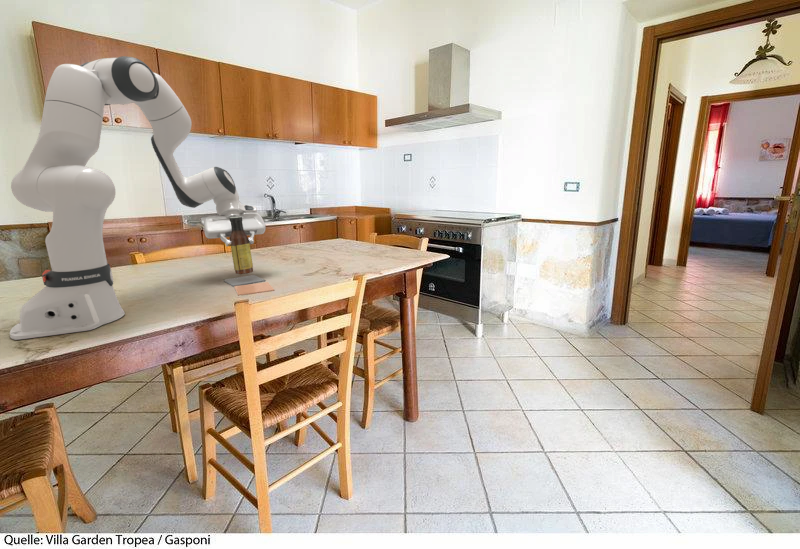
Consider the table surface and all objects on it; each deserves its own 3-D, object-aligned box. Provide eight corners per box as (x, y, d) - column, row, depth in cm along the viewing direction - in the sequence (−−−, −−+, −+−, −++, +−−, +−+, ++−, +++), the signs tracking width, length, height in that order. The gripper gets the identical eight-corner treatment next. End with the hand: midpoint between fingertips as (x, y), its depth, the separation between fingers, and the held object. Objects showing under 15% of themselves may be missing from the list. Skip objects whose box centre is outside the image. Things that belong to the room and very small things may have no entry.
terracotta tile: (238, 297, 122) (238, 294, 122) (234, 289, 131) (234, 286, 131) (274, 292, 127) (274, 289, 127) (268, 284, 136) (267, 282, 136)
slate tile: (233, 288, 132) (233, 285, 132) (223, 282, 140) (223, 279, 140) (265, 282, 139) (265, 280, 139) (254, 277, 147) (253, 274, 147)
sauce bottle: (256, 270, 142) (250, 215, 137) (248, 275, 136) (241, 217, 131) (239, 270, 142) (232, 216, 137) (230, 274, 136) (223, 217, 131)
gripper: (199, 209, 133) (208, 241, 128) (260, 206, 144) (270, 235, 139) (199, 221, 138) (207, 252, 132) (258, 217, 149) (268, 246, 144)
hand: (240, 244), depth 136 cm, fingers closed on sauce bottle, 6 cm apart
